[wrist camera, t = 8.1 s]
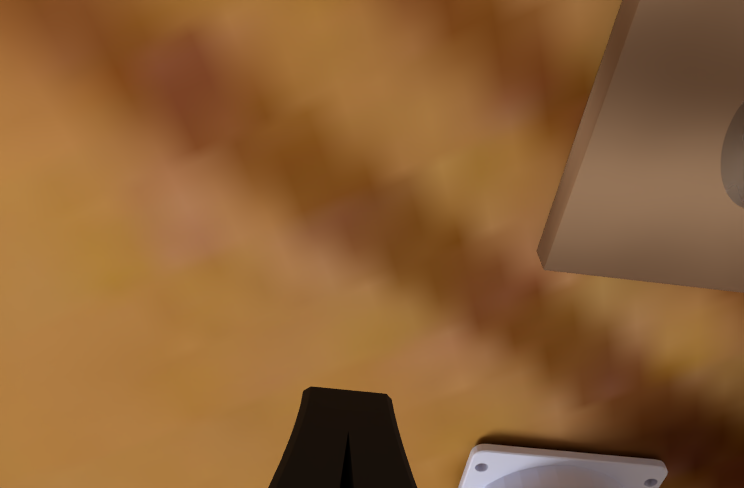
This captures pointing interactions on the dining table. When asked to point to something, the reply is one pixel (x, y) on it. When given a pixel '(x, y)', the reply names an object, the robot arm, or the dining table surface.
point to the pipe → (734, 158)
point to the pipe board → (656, 153)
